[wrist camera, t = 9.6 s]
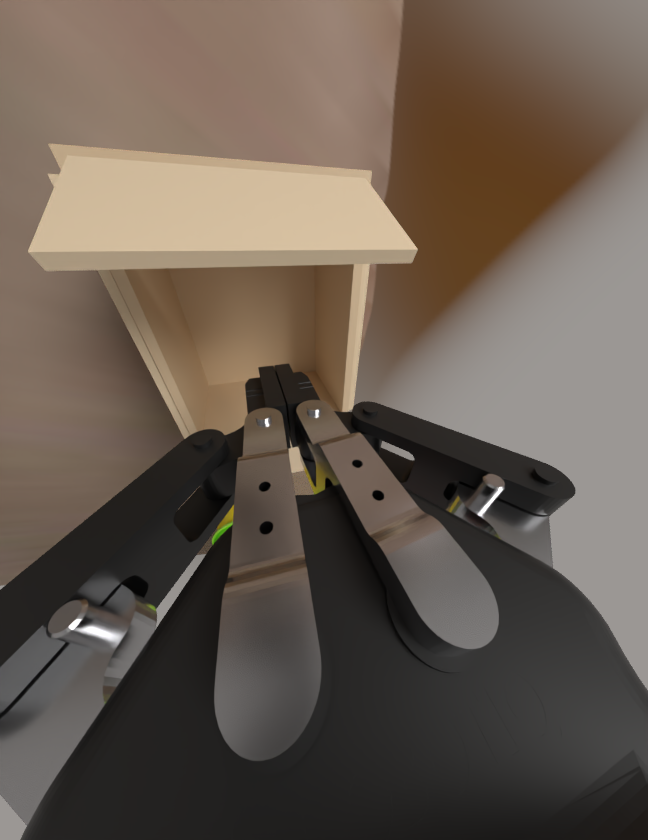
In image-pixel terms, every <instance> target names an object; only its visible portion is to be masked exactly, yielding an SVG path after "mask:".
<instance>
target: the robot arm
mask: <svg viewBox="0 0 648 840" xmlns="http://www.w3.org/2000/svg"><path fill="white" fill-rule="evenodd" d="M258 369H259V375H260V377H258V378H250V379H248V381H247V382H246V384H245V391H246V402H247V412H248V415H247V416H246V418H245V422H244V425H243V426H242V427H241V428H240V429H238V430H236V431H234V432H232V433H229V434H227V435H224V434H223V433H222V432H221V431H219V430H216V429H205V430H201V431H198V432H195V433H193V434H191V435H190V436H188V437H187V438H186V439H184V440H183V441H182V442H181V443H179V444H178V445H177V446H176V447H175V448H173V449H172V450H171V451H170V452H168V453H167V454H166V455H165V456H164V457H162V458H161V459H160V460H159V461H157V462H156V463H155V464H154V465H153V466H151V467H150V468H149V469H148V470H146V471H145V472H144V473H143V474H142V475H140V476H139V477H138V478H137V479H135V480H134V481H133V482H132V483H130V484H129V485H128V486H127V487H126V488H124V489H123V490H122V491H121V492H119V493H118V494H117V495H116V496H115V497H113V498H112V499H111V500H110V501H108V502H107V503H106V504H105V505H104V506H102V507H101V508H100V509H99V510H97V511H96V512H95V513H94V514H93V515H91V516H90V517H89V518H88V519H86V520H85V521H84V522H83V523H82V524H80V525H79V526H78V527H77V528H75V529H74V530H73V531H72V532H70V533H69V534H68V535H67V536H66V537H64V538H63V539H62V540H61V541H59V542H58V543H57V544H56V545H55V546H53V547H52V548H51V549H50V550H48V551H47V552H46V553H45V554H44V555H42V556H41V557H40V558H39V559H37V560H36V561H35V562H34V563H33V564H31V565H30V566H29V567H28V568H26V569H25V570H24V571H23V572H22V573H20V574H19V575H18V576H17V577H15V578H14V579H13V580H12V581H11V582H9V583H8V584H7V585H6V586H5V587H3V588H2V589H1V590H0V795H1V796H2V797H3V798H4V799H5V800H6V802H8V804H9V805H10V806H11V807H12V809H13V810H14V811H15V812H16V813H17V814H18V816H19V817H20V818H21V819H22V820H23V822H24V823H25V824H26V825H27V827H26V829H25V831H24V833H23V835H22V838H21V840H648V690H647V689H646V688H645V686H644V685H643V683H642V682H641V680H640V679H639V677H638V676H637V674H636V673H635V671H634V669H633V668H632V666H631V665H630V663H629V661H628V660H627V658H626V656H625V655H624V653H623V651H622V649H621V647H620V646H619V644H618V642H617V640H616V638H615V637H614V635H613V633H612V631H611V630H610V628H609V626H608V624H607V623H606V622H605V620H604V619H603V617H602V616H601V614H600V613H599V612H598V610H597V609H596V608H595V607H594V605H593V604H592V603H591V602H590V601H589V600H588V598H587V597H586V596H585V595H584V594H583V593H582V592H581V591H580V590H579V589H578V588H577V587H576V586H575V585H574V584H573V583H571V582H570V581H569V580H568V579H567V578H565V577H564V576H563V575H562V574H560V573H559V572H558V571H556V570H555V569H553V561H552V550H551V538H550V525H549V516H550V515H551V514H552V513H553V512H555V511H556V510H557V509H558V508H559V507H561V506H562V505H563V504H564V503H565V502H567V501H568V500H569V499H570V498H572V497H573V496H574V494H575V487H574V485H573V484H572V482H571V481H570V480H569V479H568V477H566V476H565V475H564V474H563V473H562V472H560V471H559V470H557V469H556V468H554V467H552V466H550V465H548V464H546V463H543V462H540V461H538V460H535V459H532V458H529V457H526V456H523V455H520V454H518V453H515V452H512V451H510V450H507V449H504V448H501V447H498V446H496V445H493V444H490V443H487V442H484V441H481V440H479V439H476V438H473V437H470V436H468V435H465V434H462V433H459V432H456V431H454V430H451V429H448V428H445V427H442V426H440V425H437V424H434V423H431V422H428V421H426V420H423V419H420V418H417V417H414V416H412V415H409V414H406V413H403V412H400V411H398V410H395V409H392V408H389V407H386V406H384V405H381V404H378V403H375V402H360V403H358V404H356V405H355V406H354V407H353V409H352V412H338V411H333V409H332V408H331V406H330V405H329V404H328V403H326V402H324V401H321V400H320V398H319V396H318V394H317V393H316V391H315V389H314V387H313V385H312V383H311V382H310V380H309V378H308V376H307V375H305V374H304V373H302V372H295V373H293V371H292V369H291V367H290V364H289V363H288V364H280V365H274V366H273V365H272V366H264V367H258ZM290 441H291V444H290ZM382 441H385V442H387V443H389V444H392V445H394V446H396V447H399V448H401V449H403V450H406V451H408V452H410V453H411V454H412V455H413V456H414V458H415V460H414V461H412V460H408V459H406V458H404V457H401V456H399V455H397V454H395V453H392V452H390V451H388V450H385V449H383V448H381V443H382ZM291 445H292V448H293V447H298V448H299V451H300V460H301V463H302V465H303V468H304V470H305V473H306V475H307V477H308V480H309V482H310V485H311V487H312V489H313V492H314V495H295V491H294V484H293V478H292V472H291V465H290V459H289V450H288V449H289V448H291ZM199 486H200V487H199ZM198 487H199V488H198ZM197 488H198V489H197ZM196 489H197V490H196ZM195 490H196V491H195ZM194 491H195V493H194V494H193V495H192V496H191V497H190V495H191V494H192V493H193V492H194ZM189 497H190V498H189ZM188 498H189V499H188ZM187 499H188V500H187ZM186 500H187V501H186ZM185 501H186V502H185ZM184 502H185V503H184ZM183 503H184V504H183ZM182 504H183V505H182ZM181 505H182V506H181ZM233 505H234V513H233V525H232V526H231V527H229V528H228V529H227V530H226V531H225V532H224V533H223V534H222V535H221V536H220V537H219V538H218V539H217V541H216V542H215V543H214V544H213V546H212V547H211V548H210V550H209V551H208V553H207V554H206V556H205V557H204V559H203V560H202V562H201V563H200V565H199V566H198V568H197V569H196V571H195V572H194V574H193V575H192V576H191V578H190V580H189V581H188V582H187V584H186V585H185V587H184V588H183V590H182V591H181V593H180V594H179V596H178V597H177V599H176V600H175V602H174V603H173V604H172V606H171V607H170V609H169V610H168V612H167V613H166V615H165V616H164V618H163V619H162V621H161V622H160V624H159V625H158V627H157V628H156V623H157V613H156V608H157V607H158V606H159V604H160V603H161V602H162V600H163V599H164V598H165V596H166V595H167V594H168V592H169V591H170V590H171V588H172V587H173V586H174V584H175V583H176V582H177V580H178V579H179V578H180V576H181V574H183V572H184V571H185V570H186V568H187V567H188V565H189V564H190V563H191V561H192V560H193V559H194V557H195V556H196V555H197V553H198V552H199V551H200V549H201V548H202V547H203V545H204V544H205V543H206V541H207V540H208V539H209V537H210V536H211V535H212V533H213V532H214V531H215V529H216V528H217V527H218V525H219V524H220V523H221V521H222V520H223V519H224V517H225V516H226V514H227V513H228V512H229V510H230V509H231V508H232V506H233ZM180 506H181V508H180V509H179V507H180ZM178 509H179V510H178ZM177 510H178V511H177ZM155 628H156V630H155Z"/></svg>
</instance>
